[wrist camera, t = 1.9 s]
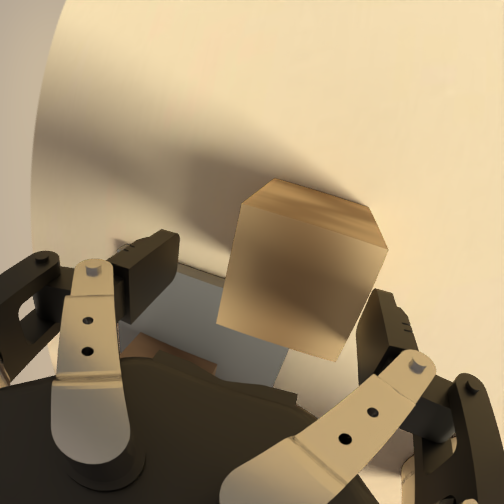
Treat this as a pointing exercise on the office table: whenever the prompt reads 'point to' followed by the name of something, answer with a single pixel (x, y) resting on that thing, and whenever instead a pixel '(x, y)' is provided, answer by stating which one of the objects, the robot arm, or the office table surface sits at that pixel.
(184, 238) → the office table surface
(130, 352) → the walnut block
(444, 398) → the robot arm
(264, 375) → the plate
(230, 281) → the oak block
